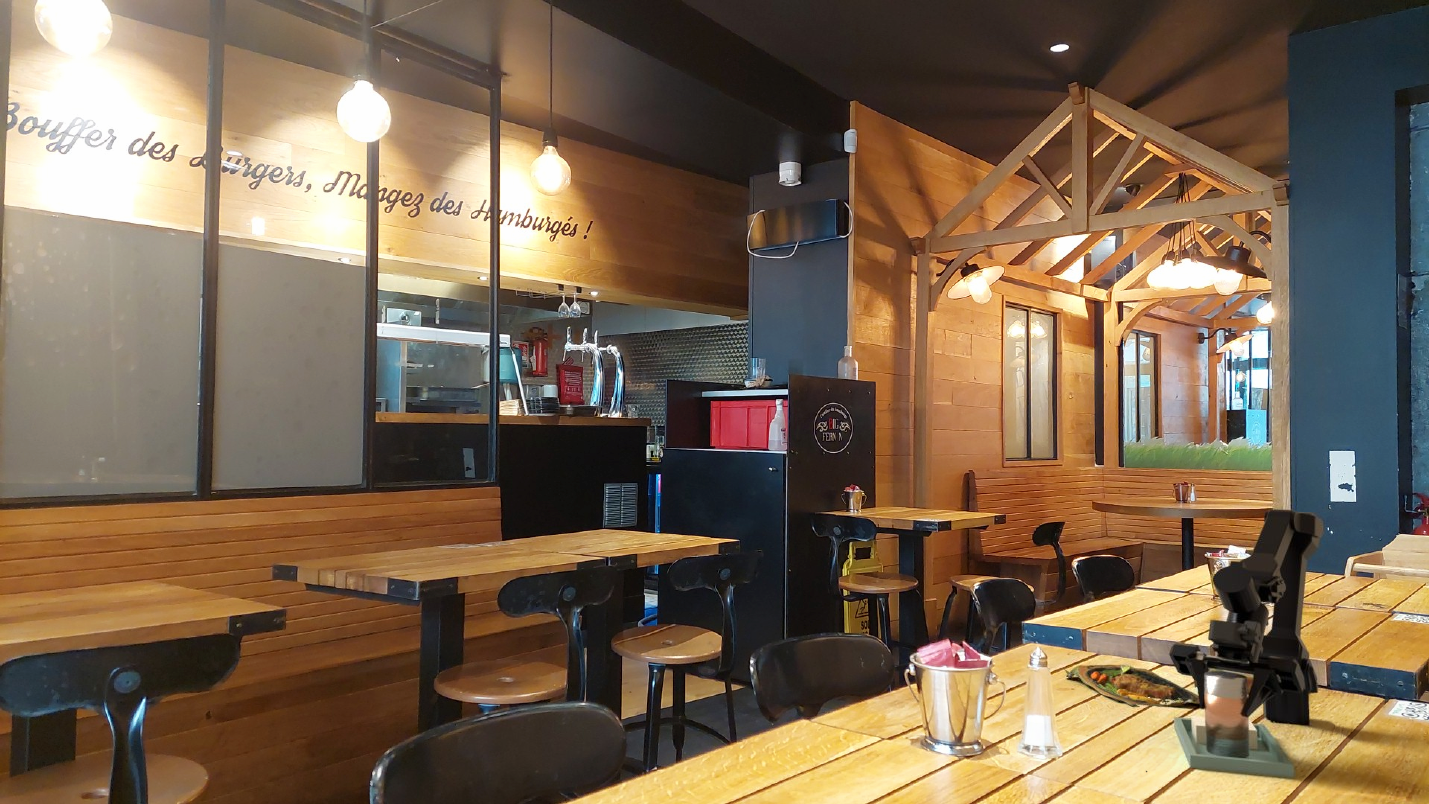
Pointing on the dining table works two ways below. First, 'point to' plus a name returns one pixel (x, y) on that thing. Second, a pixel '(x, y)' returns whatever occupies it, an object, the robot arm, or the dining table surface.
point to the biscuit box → (1200, 733)
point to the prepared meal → (1132, 685)
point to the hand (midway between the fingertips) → (1223, 711)
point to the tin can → (1226, 714)
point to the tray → (1259, 762)
